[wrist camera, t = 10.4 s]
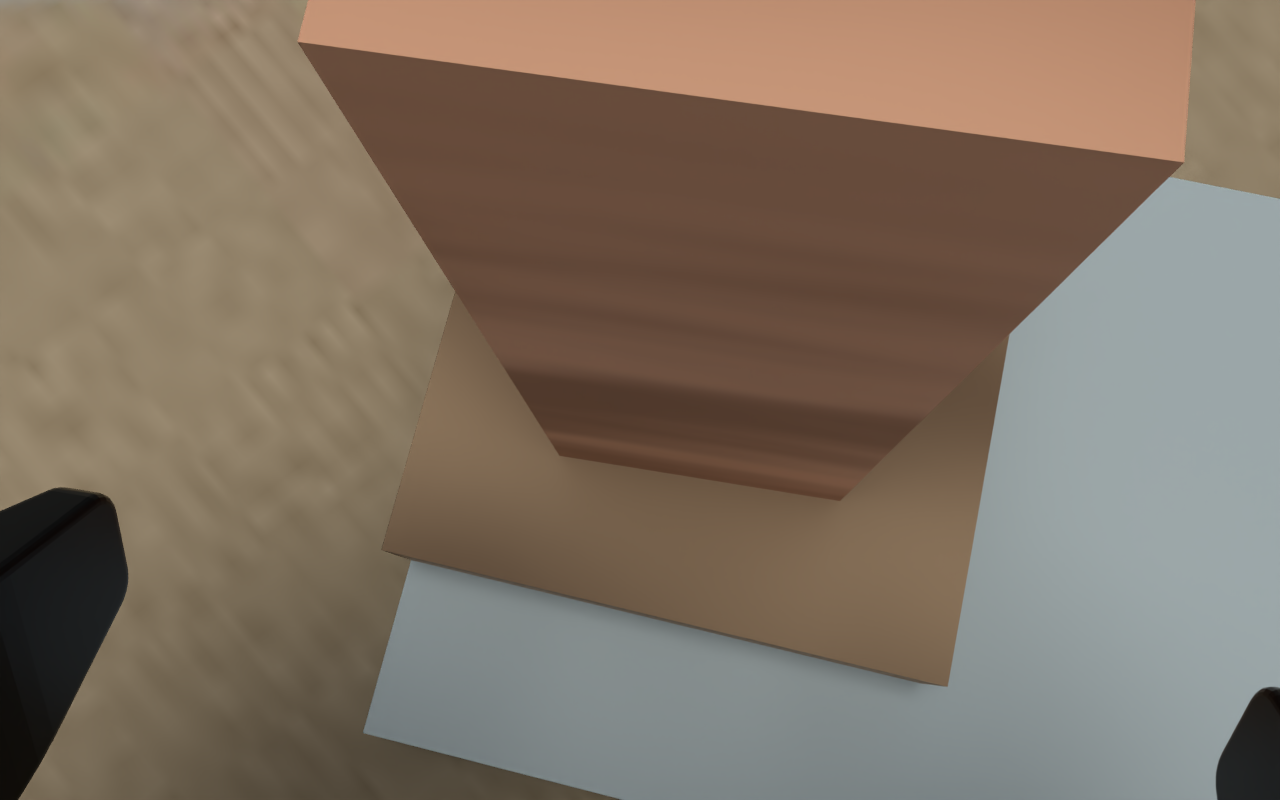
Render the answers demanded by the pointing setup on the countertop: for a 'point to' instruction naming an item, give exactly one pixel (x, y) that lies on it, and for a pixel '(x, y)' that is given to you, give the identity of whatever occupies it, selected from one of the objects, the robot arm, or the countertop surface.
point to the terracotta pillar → (756, 199)
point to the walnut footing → (702, 524)
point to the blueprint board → (994, 592)
